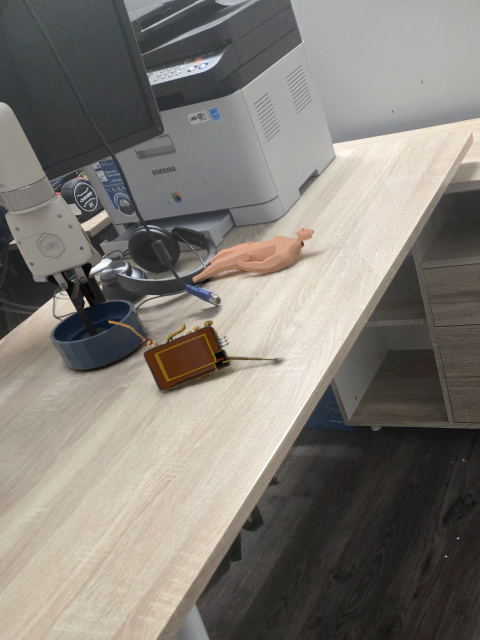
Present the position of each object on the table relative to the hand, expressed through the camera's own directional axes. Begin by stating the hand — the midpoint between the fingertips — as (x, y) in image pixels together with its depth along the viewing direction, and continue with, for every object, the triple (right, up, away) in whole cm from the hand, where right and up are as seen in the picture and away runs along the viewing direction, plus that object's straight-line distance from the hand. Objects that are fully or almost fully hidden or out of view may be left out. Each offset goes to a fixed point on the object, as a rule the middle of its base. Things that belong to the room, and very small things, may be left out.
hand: (87, 304), depth 113 cm
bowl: (+4, -8, -1) cm, 9 cm away
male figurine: (+27, +11, +12) cm, 32 cm away
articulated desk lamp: (+1, -4, +3) cm, 5 cm away
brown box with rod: (+26, -15, -16) cm, 34 cm away
